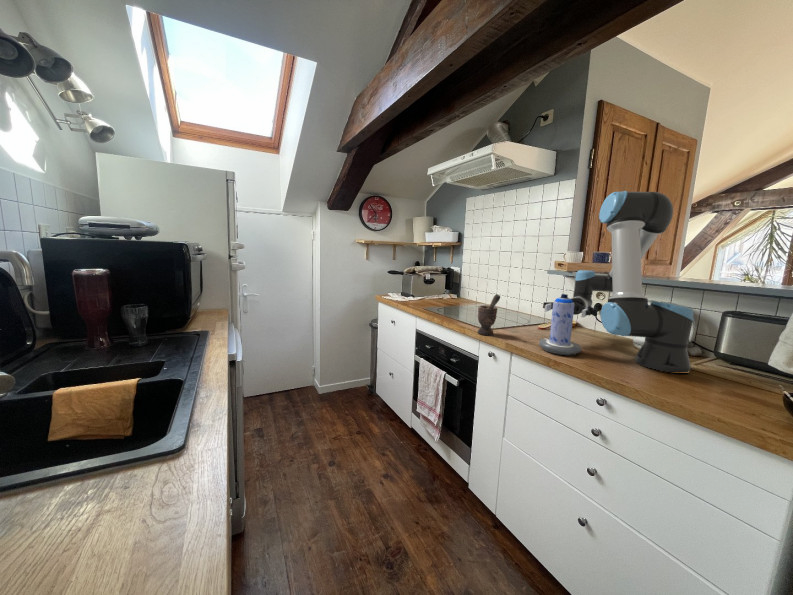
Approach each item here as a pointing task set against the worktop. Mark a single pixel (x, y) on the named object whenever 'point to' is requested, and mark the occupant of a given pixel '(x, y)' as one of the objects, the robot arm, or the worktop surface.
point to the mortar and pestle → (487, 316)
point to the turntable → (563, 349)
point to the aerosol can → (562, 321)
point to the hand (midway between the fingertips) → (563, 311)
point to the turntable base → (559, 352)
